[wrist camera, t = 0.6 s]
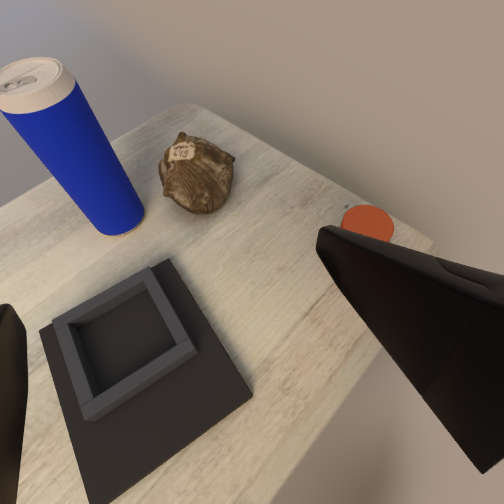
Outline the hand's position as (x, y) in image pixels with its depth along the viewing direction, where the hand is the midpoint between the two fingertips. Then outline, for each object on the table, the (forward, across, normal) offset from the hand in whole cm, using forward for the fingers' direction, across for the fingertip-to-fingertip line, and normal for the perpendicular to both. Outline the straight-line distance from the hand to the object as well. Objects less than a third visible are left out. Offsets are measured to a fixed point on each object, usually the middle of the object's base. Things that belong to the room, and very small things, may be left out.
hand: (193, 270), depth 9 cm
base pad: (+10, +3, +16) cm, 19 cm away
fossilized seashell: (+24, -7, +9) cm, 27 cm away
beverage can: (+24, +2, +11) cm, 27 cm away
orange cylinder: (+10, -17, +11) cm, 23 cm away
